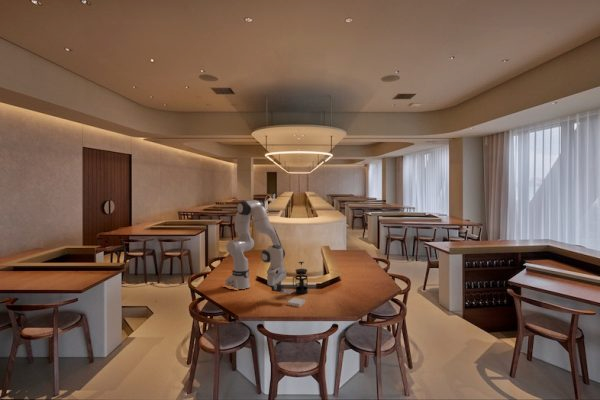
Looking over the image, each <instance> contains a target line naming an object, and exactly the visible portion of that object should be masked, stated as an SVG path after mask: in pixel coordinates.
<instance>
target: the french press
mask: <svg viewBox="0 0 600 400" xmlns="http://www.w3.org/2000/svg"><path fill="white" fill-rule="evenodd" d="M304 263H305V262H304V261H299V262H298V264H300V268H297V269H295V274H297V275H296V276H294V277H292V290H295V291H294V292H295V294H296V295H307V294H308V293H309V290H308V287H309V286H308V283H309V281H308V275H306V274H307V272H308V269H306V268H303V264H304ZM294 280H296V281H299V282H294ZM304 281H306V282H304ZM294 284H295V285H294ZM294 286H295V287H294Z"/></svg>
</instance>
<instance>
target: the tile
mask: <svg viewBox="0 0 600 400" xmlns="http://www.w3.org/2000/svg"><path fill="white" fill-rule="evenodd" d="M304 304H306V299H304V298H299V297H292V298H291V299H289V300H288V301H287V306H291V305H292V306H293V307H299V308H300V307H302V306H303V305H304ZM292 306H291V307H292Z"/></svg>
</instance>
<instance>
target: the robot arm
mask: <svg viewBox="0 0 600 400" xmlns="http://www.w3.org/2000/svg"><path fill="white" fill-rule="evenodd" d="M236 210H237V212H236V215H235V216H236V217H235V224H234V232H235V233H237V235H238V238H235V239H232V240H229V241H227V243H226V248H225V249H226V251H227V253H229V255H231V258H232V260H233V269H232V270H231V275H230V276H228V277H227V278H226V279H225V283H224V284H225V285H227V286H231V287H234V288H237V289H243V288H248V287H250V286H251V284H250V277H249V275H250V269H249V259H248V258H247V257H246V256H245V255H244V253H245V252H248V251H250V250H251V249H253V248H254V247H255V240H254V239H253V238H252V236H251V233H250V225H251V216H252V218H253V224H254V228H255V230H256V231H257V232H259V233H261V234H264V235H267V236H268V237H269V238H270V239H271V244H272V245H271V246H270V247H269V248H268V247H267V248H265V249H263V250H262V251H261V254H260V256H261V257H260V258H261V260H262V262H263V263H267V264H268V263H270V266H269V268H268V269H267V271H266V274H267V277H266V282H267V285H268V286H274V290H277V286H276V285H277V284H278V285H282V281H284V280H285V279H287V271H286V267H285V266H284V262H283V261H284V259H285V256H286V251H285V249H284V247H283V245H282V242H281V239H280V238H279V235H278V233H277V230H276V228H275V227H274V226H273V225H272V223H271V221H270V220H269V216H268V215H269V214H268V213H267V210H266V208H265V204H264V202H263V201H261V200H258V199H257V200H255V199H251V200H242V201H239V202H238V203H237V205H236ZM250 288H251V287H250Z"/></svg>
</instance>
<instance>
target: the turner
mask: <svg viewBox="0 0 600 400" xmlns="http://www.w3.org/2000/svg"><path fill="white" fill-rule="evenodd" d="M276 286H277V290H274V286H271V291H272V292H276V293H280V294H285V295H291V294H292V293H294V292H295V291H294V290H295V289H286V288H284V287H285V285H283V284H281V285H278V283H277V285H276Z"/></svg>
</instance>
